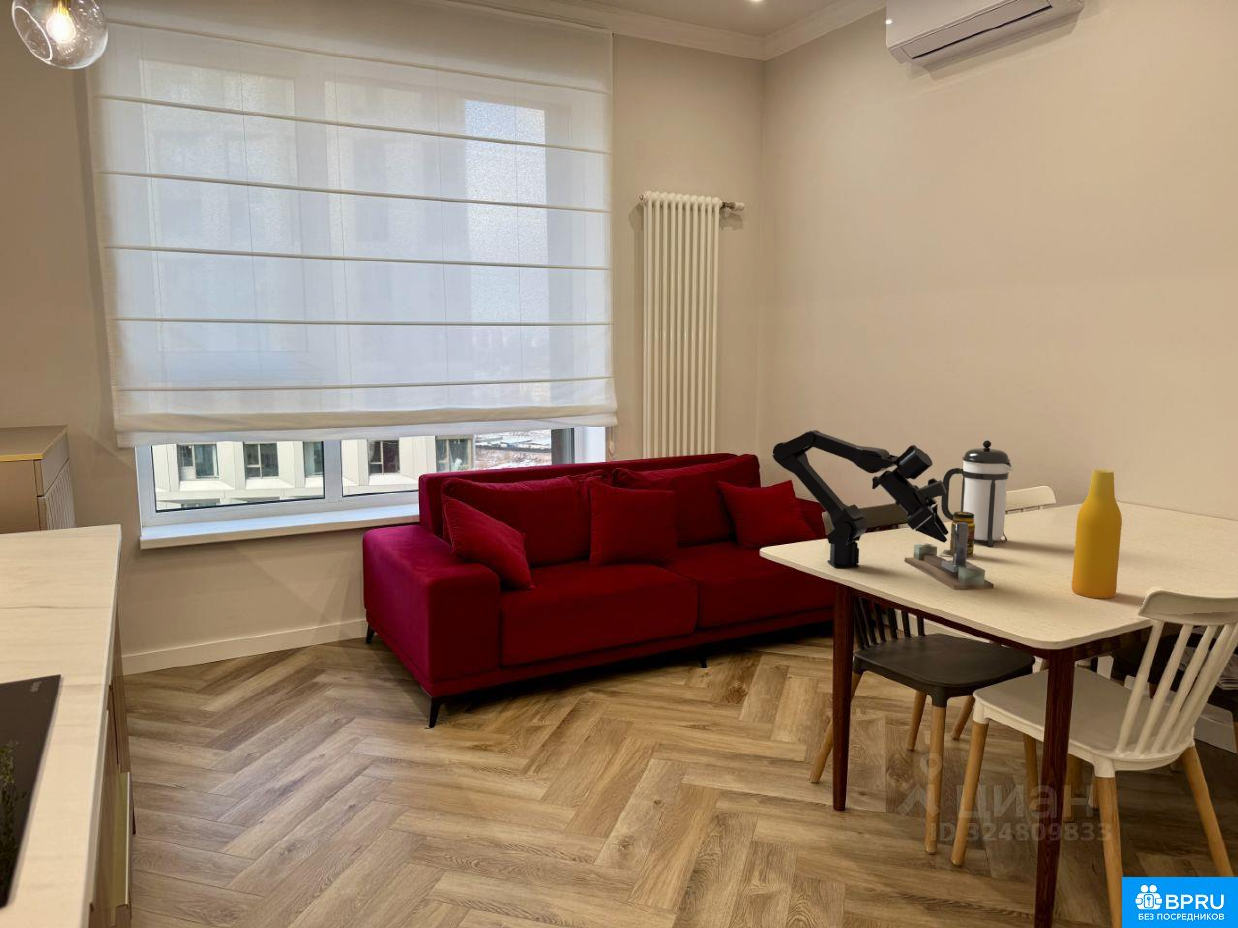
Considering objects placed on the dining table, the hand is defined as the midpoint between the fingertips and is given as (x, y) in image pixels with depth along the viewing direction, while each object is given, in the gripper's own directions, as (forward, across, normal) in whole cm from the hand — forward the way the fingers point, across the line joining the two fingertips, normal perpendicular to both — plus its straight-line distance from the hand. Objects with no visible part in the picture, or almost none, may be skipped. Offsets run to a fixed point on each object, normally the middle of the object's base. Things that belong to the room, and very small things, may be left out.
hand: (946, 537), depth 216 cm
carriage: (+8, 0, +3) cm, 8 cm away
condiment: (+9, +28, +6) cm, 30 cm away
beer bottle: (+31, +1, -15) cm, 34 cm away
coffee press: (+12, +49, +3) cm, 51 cm away
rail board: (+8, +5, +7) cm, 12 cm away
